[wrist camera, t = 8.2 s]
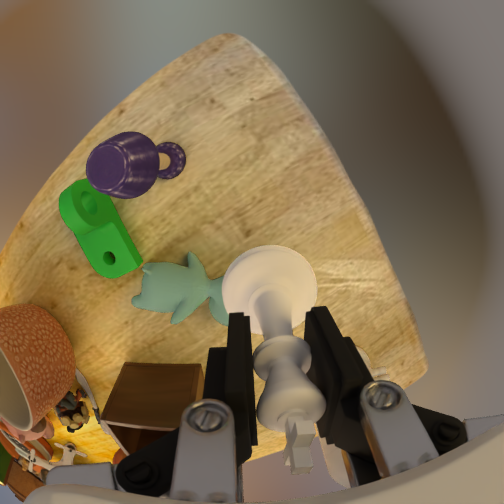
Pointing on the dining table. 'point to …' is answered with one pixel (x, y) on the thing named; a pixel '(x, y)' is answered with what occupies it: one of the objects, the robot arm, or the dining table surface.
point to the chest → (150, 402)
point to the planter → (32, 364)
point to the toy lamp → (132, 164)
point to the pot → (22, 481)
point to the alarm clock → (25, 446)
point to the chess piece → (279, 342)
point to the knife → (86, 387)
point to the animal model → (27, 465)
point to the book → (5, 465)
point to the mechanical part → (98, 229)
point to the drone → (66, 460)
